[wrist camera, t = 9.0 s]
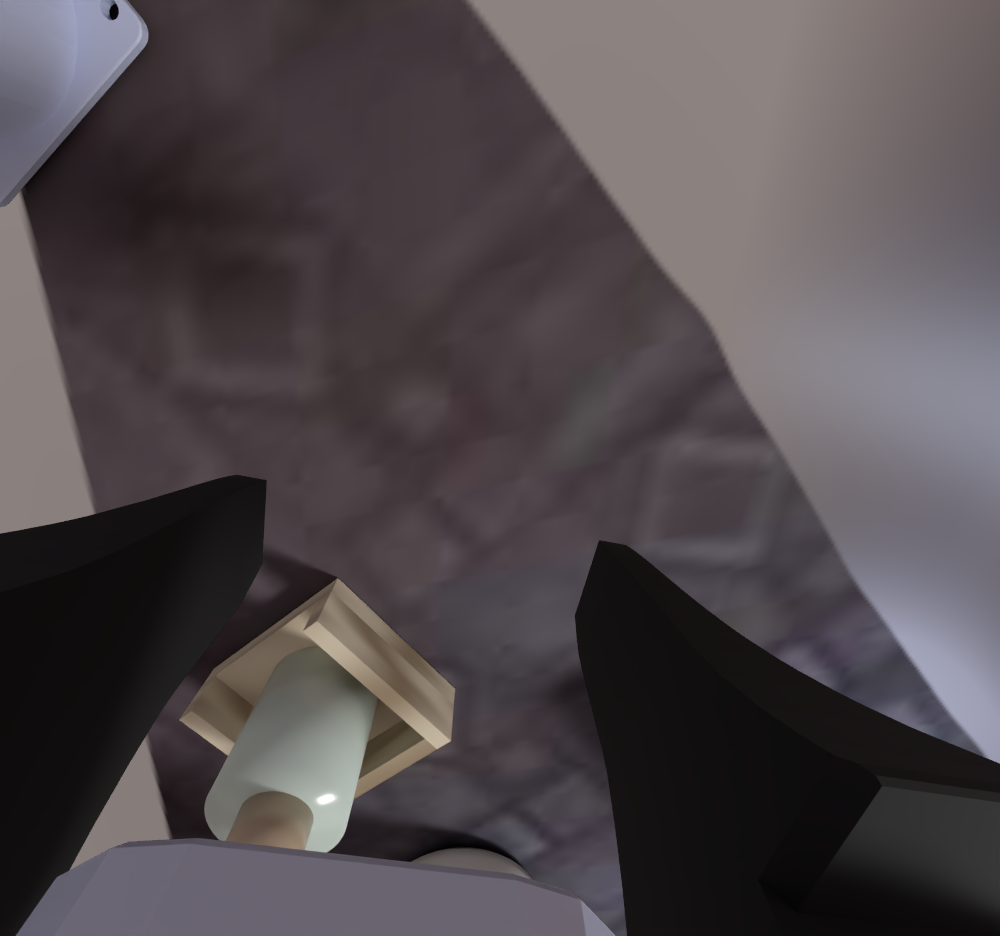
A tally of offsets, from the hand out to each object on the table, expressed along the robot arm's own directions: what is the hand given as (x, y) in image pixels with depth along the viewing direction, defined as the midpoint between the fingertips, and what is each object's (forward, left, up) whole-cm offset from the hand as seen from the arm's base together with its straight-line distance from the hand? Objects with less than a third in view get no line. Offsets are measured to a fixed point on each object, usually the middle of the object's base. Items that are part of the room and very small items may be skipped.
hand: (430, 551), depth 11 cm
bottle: (+6, -13, -9) cm, 17 cm away
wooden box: (+7, -13, -10) cm, 18 cm away
